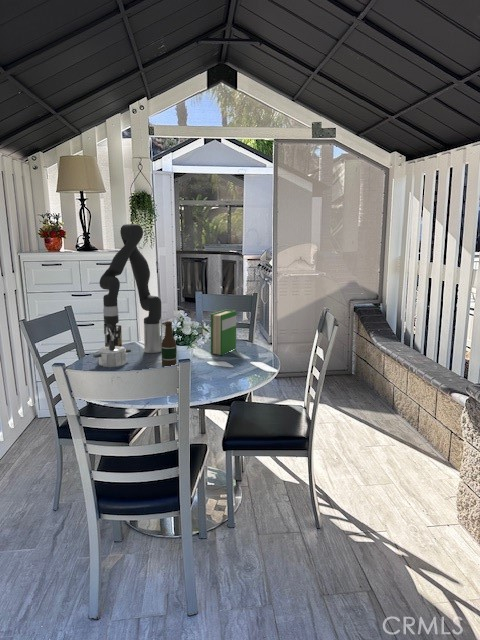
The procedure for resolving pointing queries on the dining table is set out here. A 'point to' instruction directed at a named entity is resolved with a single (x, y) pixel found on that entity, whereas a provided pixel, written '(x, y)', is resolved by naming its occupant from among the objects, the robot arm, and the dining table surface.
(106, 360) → the pot
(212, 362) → the dining table surface
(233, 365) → the dining table surface
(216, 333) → the hardback book
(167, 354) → the beer bottle
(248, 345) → the dining table surface
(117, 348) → the lid
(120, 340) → the coffee box
